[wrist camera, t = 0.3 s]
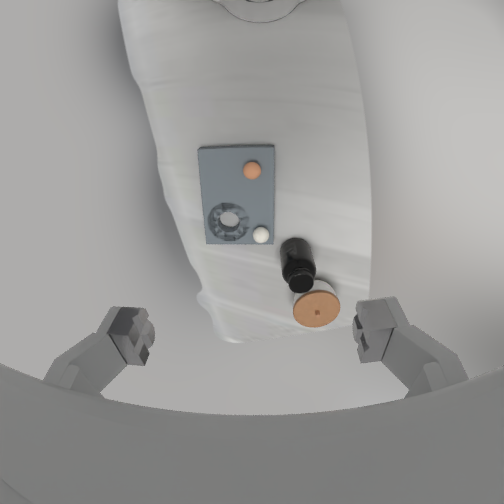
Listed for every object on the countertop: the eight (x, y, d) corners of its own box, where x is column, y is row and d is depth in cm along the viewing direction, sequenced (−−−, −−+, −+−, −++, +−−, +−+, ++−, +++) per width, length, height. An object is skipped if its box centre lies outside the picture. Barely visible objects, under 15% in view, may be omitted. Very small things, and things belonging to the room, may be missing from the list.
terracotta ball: (243, 160, 49) (242, 164, 47) (261, 160, 49) (260, 164, 46) (244, 176, 51) (242, 181, 48) (261, 176, 51) (260, 181, 48)
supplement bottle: (279, 263, 63) (281, 298, 53) (280, 237, 60) (282, 268, 50) (309, 263, 63) (317, 297, 53) (312, 237, 60) (320, 268, 49)
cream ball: (253, 224, 56) (252, 231, 53) (269, 224, 56) (269, 231, 53) (253, 238, 58) (252, 246, 55) (269, 238, 57) (269, 246, 55)
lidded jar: (297, 268, 64) (300, 294, 56) (340, 275, 64) (348, 300, 56) (286, 303, 69) (288, 330, 61) (326, 308, 70) (332, 334, 62)
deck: (200, 147, 51) (197, 149, 48) (273, 145, 50) (274, 147, 48) (208, 238, 61) (206, 244, 59) (273, 238, 60) (273, 244, 58)
